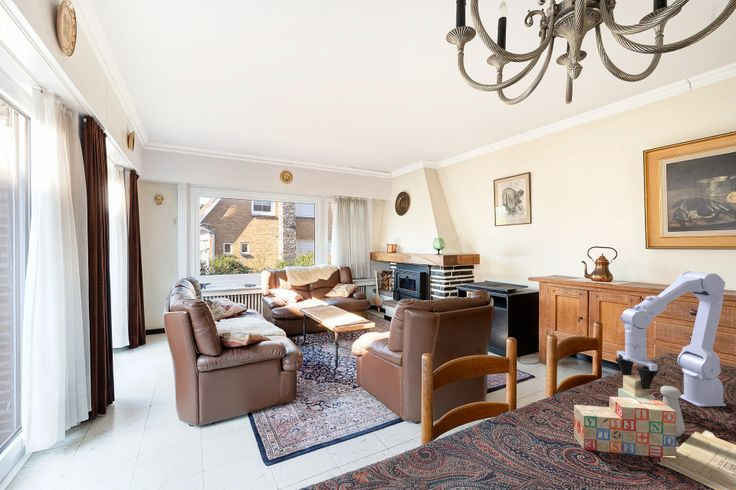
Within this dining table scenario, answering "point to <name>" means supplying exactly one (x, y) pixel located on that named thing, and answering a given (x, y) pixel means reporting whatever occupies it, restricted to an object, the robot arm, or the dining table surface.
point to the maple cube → (634, 385)
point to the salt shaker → (673, 405)
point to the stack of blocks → (627, 427)
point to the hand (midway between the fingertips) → (636, 384)
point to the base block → (627, 395)
